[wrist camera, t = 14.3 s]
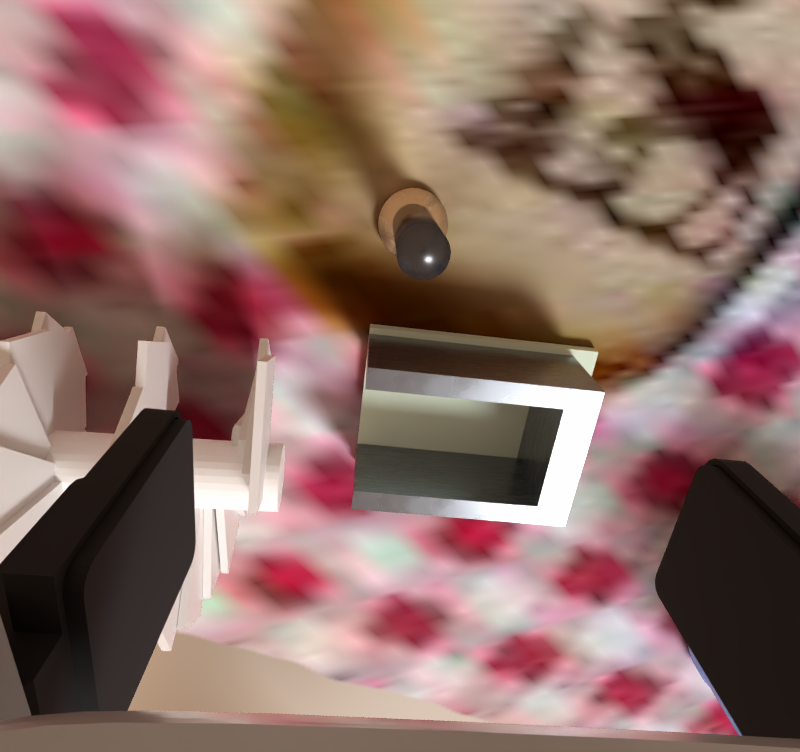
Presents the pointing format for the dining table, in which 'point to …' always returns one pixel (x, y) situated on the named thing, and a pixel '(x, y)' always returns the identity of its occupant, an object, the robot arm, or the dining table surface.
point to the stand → (416, 232)
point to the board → (452, 405)
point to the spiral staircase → (79, 450)
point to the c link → (470, 473)
